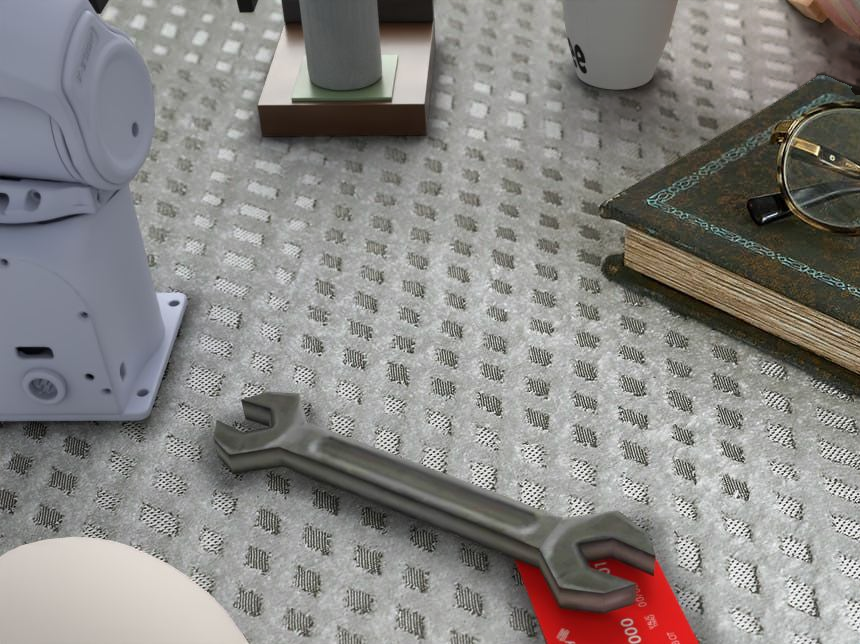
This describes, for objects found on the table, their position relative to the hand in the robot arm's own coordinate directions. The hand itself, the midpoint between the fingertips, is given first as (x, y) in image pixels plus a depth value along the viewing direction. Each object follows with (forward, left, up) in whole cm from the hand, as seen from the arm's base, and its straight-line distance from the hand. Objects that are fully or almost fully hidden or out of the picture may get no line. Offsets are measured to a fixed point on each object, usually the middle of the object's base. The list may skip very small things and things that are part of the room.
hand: (174, 5), depth 61 cm
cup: (+15, -24, -11) cm, 30 cm away
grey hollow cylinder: (+10, -7, -8) cm, 15 cm away
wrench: (-31, -22, -9) cm, 39 cm away
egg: (-34, +1, -6) cm, 34 cm away
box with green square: (+13, -7, -10) cm, 18 cm away
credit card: (-32, -21, -11) cm, 40 cm away
